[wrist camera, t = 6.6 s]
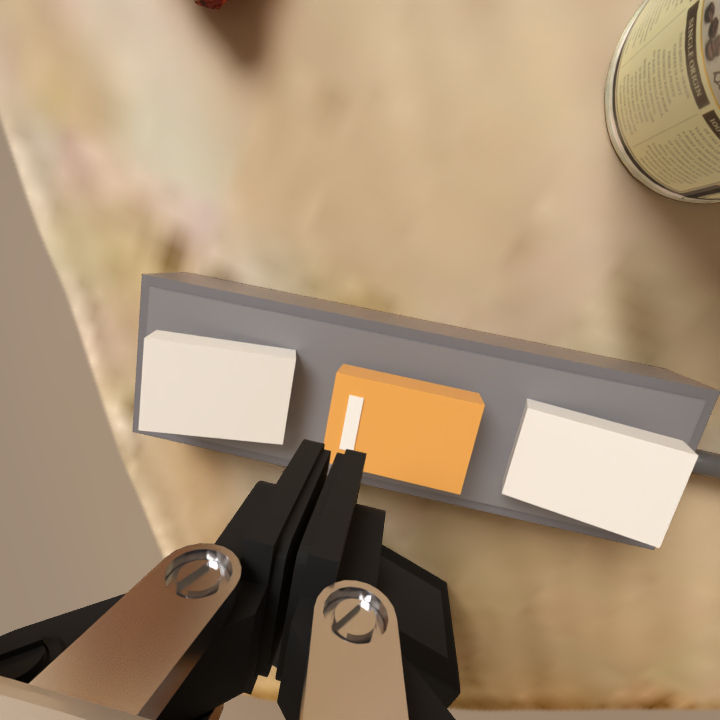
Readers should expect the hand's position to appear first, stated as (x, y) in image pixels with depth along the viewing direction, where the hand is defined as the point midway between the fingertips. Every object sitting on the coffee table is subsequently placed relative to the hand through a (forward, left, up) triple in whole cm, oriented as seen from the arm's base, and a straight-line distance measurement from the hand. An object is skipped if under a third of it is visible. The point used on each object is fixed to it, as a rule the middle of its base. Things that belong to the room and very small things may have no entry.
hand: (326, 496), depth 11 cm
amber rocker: (-2, +1, -7) cm, 8 cm away
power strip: (-5, +1, -13) cm, 14 cm away
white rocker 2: (-10, +1, -7) cm, 12 cm away
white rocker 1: (+6, +1, -7) cm, 10 cm away
